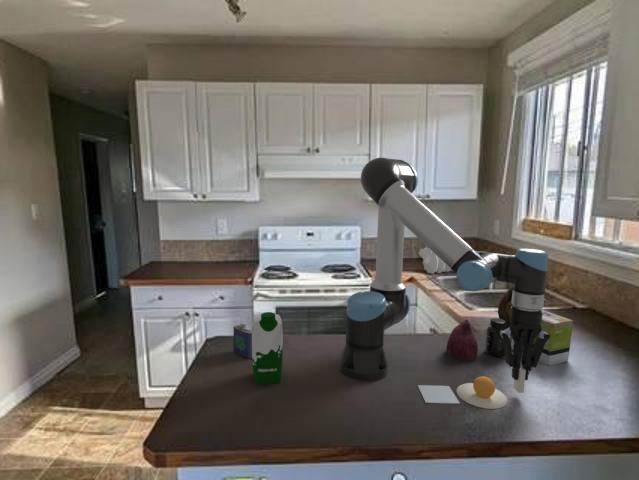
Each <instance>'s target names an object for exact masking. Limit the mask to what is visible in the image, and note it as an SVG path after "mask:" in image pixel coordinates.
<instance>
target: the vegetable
mask: <svg viewBox="0 0 639 480" xmlns="http://www.w3.org/2000/svg"><path fill="white" fill-rule="evenodd" d="M471 326H472V325H471V322H470V321H469V319H468V318H466V319H464V320H462V322H460V323H459V324H457V325H456V326H455V327H454V328H453V329H452V330H451V333H450V335H449V337H448V340H447V343H446V349H445V350H446V351H445V354H446V355H447V356H448V357H450V358H453V359H455V360H460V361H464V362H465V361H466V362H467V361H470V362H471V361H474V360H476V359H477V358H478V354H479V353H478V349H479V348H478V347H479V346H478V341H477V338H476V336H475V334H474V332H473V330H472V327H471Z"/></svg>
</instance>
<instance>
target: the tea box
mask: <svg viewBox="0 0 639 480" xmlns="http://www.w3.org/2000/svg"><path fill="white" fill-rule="evenodd" d="M541 310H542V311H543V315H542V323H541V327H542V331H544V332H546V333H547V334H549V335H550V338H549V339H548V340H547V342H546V343H545V346H544V348H543V351H542V354H541V356H540V359H539V363H542V364H544V365H545V366H553V365H559V364H563V363H566V362H568V361H569V357H570V351H571V350H570V349H571V343H572V342H571V341H572V334H573V326H574V324H573V323H574V320H572V319H570V318H567V317H565V316H561V315H558V314H555V313H553V312H550V311H547V310H544V309H543V308H542V309H541ZM511 336H512V337H511V347H512V349H513V347H514V341H513V338H514V337H513V335H512V334H511ZM536 338H537V337H536ZM536 338H535V339H534V343H535V341H536ZM533 346H534V345H533ZM533 346H532V349H533ZM522 351H523V349H522Z"/></svg>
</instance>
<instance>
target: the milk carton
mask: <svg viewBox="0 0 639 480" xmlns="http://www.w3.org/2000/svg"><path fill="white" fill-rule="evenodd" d="M252 319H253V320H252V324H251V325H252V326H251V331H252V359H251V363H252V371H253V376H254V380H255V382H254V383H255V385H257V386H258V385H266V384H267V385H268V384H279V383H281V378H282V371H283V355H284V354H283V349H284V348H283V347H284V345H283V343H284V342H283V339H284V338H283V337H284V335H283V334H284V333H283V328H284V327H283V322H282V318H281V316H280V314H276V313H275V312H271V311H267V312H262V313H261V314H259V315H258V314H257V315H253V317H252Z"/></svg>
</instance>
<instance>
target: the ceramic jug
mask: <svg viewBox="0 0 639 480" xmlns="http://www.w3.org/2000/svg"><path fill="white" fill-rule="evenodd" d="M512 294H513V285H511V287H509V289H507V291H506V292H505V293H504V294H503V296H502V297H501V299H500V301H499V304H498V307H497V309H498V310H497V314H498V319H503V320H505V321H506V327H505V328H506V329H507V328H508V325H509V324H510V314H511V306H513V304H512Z"/></svg>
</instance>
